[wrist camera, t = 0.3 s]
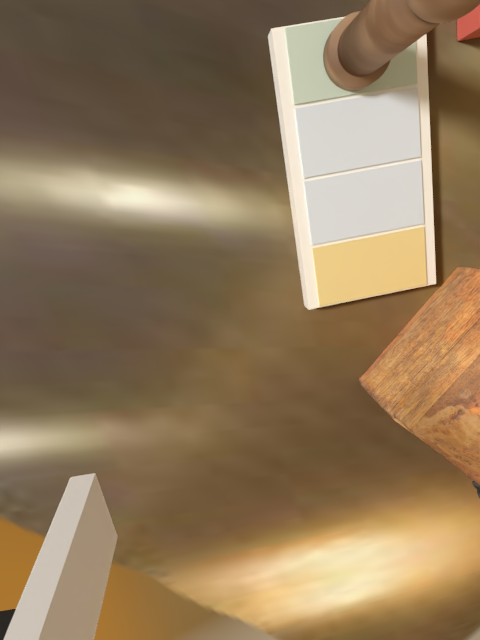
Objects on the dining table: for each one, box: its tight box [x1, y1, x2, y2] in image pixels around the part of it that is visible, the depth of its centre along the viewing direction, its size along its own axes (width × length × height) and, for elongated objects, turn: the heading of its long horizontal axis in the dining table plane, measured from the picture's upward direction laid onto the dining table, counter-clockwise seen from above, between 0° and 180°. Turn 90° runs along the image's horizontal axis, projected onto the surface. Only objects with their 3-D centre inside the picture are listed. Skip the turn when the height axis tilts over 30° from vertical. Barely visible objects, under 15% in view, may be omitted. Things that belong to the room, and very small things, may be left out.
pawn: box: [323, 0, 480, 91], centre depth 25 cm, size 5×5×15 cm
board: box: [268, 17, 436, 309], centre depth 35 cm, size 22×12×2 cm, turn 10°
